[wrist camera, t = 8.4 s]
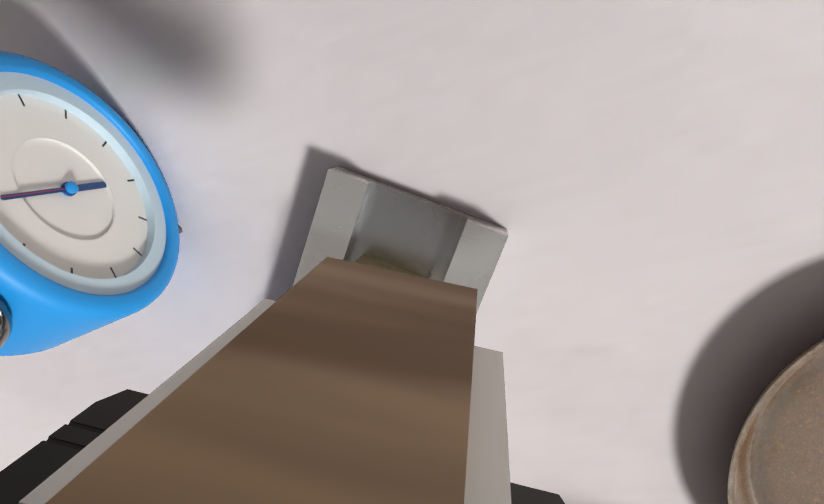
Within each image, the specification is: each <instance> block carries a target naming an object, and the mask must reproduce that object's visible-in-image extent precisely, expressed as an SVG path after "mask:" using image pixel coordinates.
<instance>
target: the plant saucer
mask: <svg viewBox="0 0 824 504" xmlns="http://www.w3.org/2000/svg"><path fill="white" fill-rule="evenodd" d="M727 499H728V504H824V339H822V340H820V341H819V342H817V343H816V344H814V345H813V346H811V347H810V348H808V349H807V350H806V351H804V352H803V353H802V354H800V355H799V356H798V357H797V358H796V359H794V360H793V361H792V362H791V363H789V364H788V365H787V366H786V367H785V368H784V369H783V370H782V371H781V372H780V373H779V374H778V375H777V376H776V377H775V378H774V379H773V380H772V381H771V382H770V383H769V385H768V386H767V387H766V388H765V389H764V391H763V392H762V393H761V395H760V396H759V397H758V399H757V400H756V402H755V404H754V405H753V407H752V408H751V410H750V412H749V414H748V415H747V417H746V419H745V421H744V423H743V425H742V428H741V430H740V432H739V435H738V437H737V440H736V443H735V446H734V449H733V453H732V458H731V462H730V468H729V475H728V487H727Z"/></svg>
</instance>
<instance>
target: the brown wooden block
mask: <svg viewBox="0 0 824 504" xmlns="http://www.w3.org/2000/svg"><path fill="white" fill-rule="evenodd" d="M477 290H478V289H475V288H470V287H466V286H461V285H456V284H452V283H447V282H443V281H438V280H433V279H429V278H424V277H419V276H415V275H410V274H405V273H401V272H396V271H391V270H387V269H382V268H378V267H373V266H368V265H364V264H359V263H354V262H350V261H345V260H340V259H336V258H331V257H326V258H325V259H324V260H323V261H322V262H320V263H319V264H318V265H317V266H316V267H315V268H314V269H312V270H311V271H310V272H309V273H308V274H307V275H306V276H304V277H303V278H302V279H301V280H300V281H299V282H298V283H296V284H295V285H294V286H293V287H292V288H291V289H290V290H288V291H287V292H286V293H285V294H284V295H283V296H282V297H280V298H279V299H278V300H277V301H276V302H275V303H274V304H272V305H271V306H270V307H269V308H268V309H267V310H266V311H264V312H263V313H262V314H261V315H260V316H259V317H258V318H256V319H255V320H254V321H253V322H252V323H251V324H250V325H248V326H247V327H246V328H245V329H244V330H243V331H242V332H240V333H239V334H238V335H237V336H236V337H235V338H234V339H232V340H231V341H230V342H229V343H228V344H227V345H226V346H224V347H223V348H222V349H221V350H220V351H219V352H218V353H216V354H215V355H214V356H213V357H212V358H211V359H210V360H208V361H207V362H206V363H205V364H204V365H203V366H202V367H201V368H199V369H198V370H197V371H196V372H195V373H194V374H193V375H191V376H190V377H189V378H188V379H187V380H186V381H185V382H183V383H182V384H181V385H180V386H179V387H178V388H177V389H175V390H174V391H173V392H172V393H171V394H170V395H169V396H167V397H166V398H165V399H164V400H163V401H162V402H161V403H159V404H158V405H157V406H156V407H155V408H154V409H153V410H151V411H150V412H149V413H148V414H147V415H146V416H145V417H143V418H142V419H141V420H140V421H139V422H138V423H137V424H135V425H134V426H133V427H132V428H131V429H130V430H129V431H127V432H126V433H125V434H124V435H123V436H122V437H121V438H119V439H118V440H117V441H116V442H115V443H114V444H113V445H111V446H110V447H109V448H108V449H107V450H106V451H105V452H103V453H102V454H101V455H100V456H99V457H98V458H97V459H95V460H94V461H93V462H92V463H91V464H90V465H89V466H87V467H86V468H85V469H84V470H83V471H82V472H81V473H79V474H78V475H77V476H76V477H75V478H74V479H73V480H71V481H70V482H69V483H68V484H67V485H66V486H65V487H63V488H62V489H61V490H60V491H59V492H58V493H57V494H55V495H54V496H53V497H52V498H51V499H50V500H49V501H47V502H46V503H45V504H464V496H465V480H466V464H467V449H468V433H469V417H470V401H471V385H472V369H473V353H474V338H475V322H476V306H477Z"/></svg>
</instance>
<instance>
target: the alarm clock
mask: <svg viewBox="0 0 824 504" xmlns="http://www.w3.org/2000/svg"><path fill="white" fill-rule="evenodd" d="M181 232H182V228H180V227H178V220H177V215H176V210H175V207H174V203H173V200H172V197H171V194H170V191H169V189H168V186H167V184H166V182H165V179H164V177H163V175H162V173H161V171H160V169H159V168H158V166H157V164H156V162H155V160H154V159H153V157H152V156H151V154H150V152H149V151H148V149H147V148H146V147H145V145H144V144H143V142H142V141H141V140H140V138H139V137H138V136H137V134H136V133H135V132H134V131H133V130H132V128H131V127H130V126H129V124H128V123H127V122H125V121H124V120H123V118H122V117H121V116H120V115H119V114H118V113H117V112H116V111H115V110H114V109H113V108H112V107H110V106H109V105H108V104H107V103H106V102H105V101H104V100H103V99H101V98H100V97H99V96H98V95H96V94H95V93H94V92H93V91H91V90H90V89H89V88H87V87H86V86H84V85H83V84H82V83H80V82H79V81H77V80H75V79H74V78H72V77H71V76H69V75H67V74H65V73H64V72H62V71H60V70H58V69H56V68H54V67H52V66H50V65H47V64H45V63H43V62H40V61H37V60H35V59H32V58H29V57H25V56H22V55H18V54H13V53H8V52H2V51H0V356H13V355H23V354H30V353H35V352H40V351H43V350H47V349H50V348H53V347H55V346H58V345H60V344H62V343H65V342H67V341H69V340H72V339H74V338H76V337H79V336H81V335H84V334H86V333H88V332H91V331H93V330H95V329H98V328H100V327H102V326H105V325H107V324H110V323H112V322H114V321H117V320H119V319H121V318H124V317H126V316H128V315H131V314H133V313H135V312H138V311H140V310H141V309H143V308H145V307H146V306H148V305H149V304H150V303H152V302H153V301H154V300H155V299H156V298H157V297H158V296H159V295H160V294H161V293H162V292H163V291H164V289H165V288H166V286H167V285H168V283H169V281H170V279H171V277H172V275H173V272H174V270H175V267H176V263H177V259H178V253H179V233H181Z"/></svg>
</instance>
